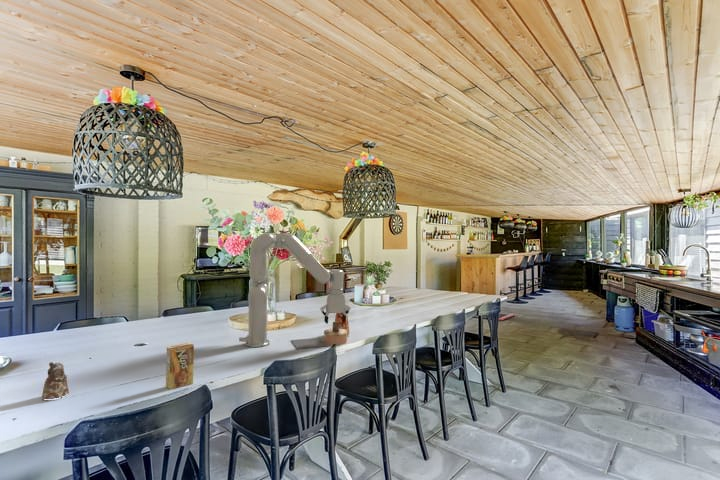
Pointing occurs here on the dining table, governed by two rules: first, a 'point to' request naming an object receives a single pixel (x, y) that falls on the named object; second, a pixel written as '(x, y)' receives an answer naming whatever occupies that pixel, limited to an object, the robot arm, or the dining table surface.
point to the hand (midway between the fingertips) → (335, 322)
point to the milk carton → (342, 325)
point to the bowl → (335, 339)
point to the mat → (308, 343)
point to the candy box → (179, 365)
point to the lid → (335, 330)
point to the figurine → (55, 382)
